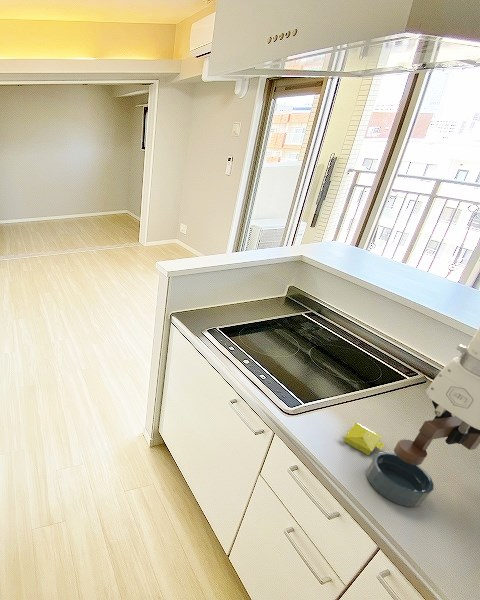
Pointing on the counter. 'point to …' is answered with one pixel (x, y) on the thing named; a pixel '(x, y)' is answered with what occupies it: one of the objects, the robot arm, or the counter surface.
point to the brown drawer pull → (431, 430)
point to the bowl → (399, 479)
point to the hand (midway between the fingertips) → (445, 435)
